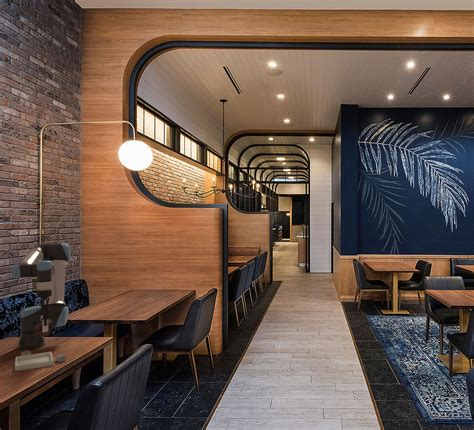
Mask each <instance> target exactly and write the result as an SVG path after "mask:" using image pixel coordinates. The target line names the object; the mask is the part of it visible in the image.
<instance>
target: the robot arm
mask: <svg viewBox="0 0 474 430" xmlns="http://www.w3.org/2000/svg"><path fill="white" fill-rule="evenodd" d="M70 247H71V246H70V244H69V243H66V242H54V243H53V242H52V243H40V244H37V245H35V246H32V247H31V248H30V249H29V250H28V251H27V254H26V257H25V258H24V259H23V260H22V261H21V263H19V264H12V266H11V269H10V274H11V277H12V278H14V279H17V278H18V279H21V278H23V279H25V278H36V283H35V286H36V298H40V300H39V304H40V305H35V306H34V305H33V306H30V307H29V306H28V307H25V308H24V309H22V310H21V311H20V336H19V339H18V340H17V348H18V349H20V350H30V349H36V348H41V347H43V346H44V345H45V344H46V339H45V335H44V336H35V329H34V328H35V326H36V324H37V323H38V322H40V321H42V332H48V319H50V320H51V321H52V322H53V327H54V328H55V327H56V328H59V327H63V326H66V324H67V323H68V318H69V309H70V308H69V307H68V306H67V304H66V302H65V286H66V285H65V283H66V282H65V281H66V266H67V265H68V264H69V261H71V260H72V254H71V248H70ZM48 298H49V299H48Z"/></svg>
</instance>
